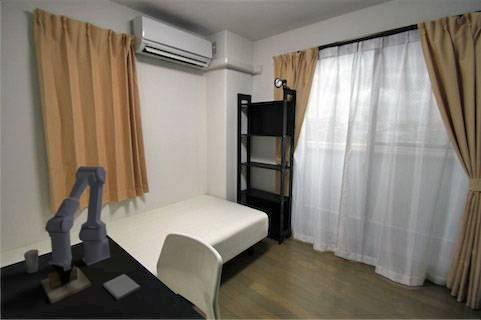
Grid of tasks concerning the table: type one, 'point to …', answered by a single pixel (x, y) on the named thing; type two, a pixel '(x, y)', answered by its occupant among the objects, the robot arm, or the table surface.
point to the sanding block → (55, 279)
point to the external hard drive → (121, 286)
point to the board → (66, 287)
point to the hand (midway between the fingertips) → (63, 280)
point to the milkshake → (31, 260)
